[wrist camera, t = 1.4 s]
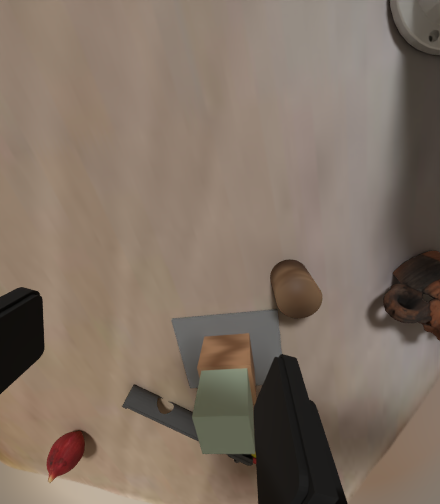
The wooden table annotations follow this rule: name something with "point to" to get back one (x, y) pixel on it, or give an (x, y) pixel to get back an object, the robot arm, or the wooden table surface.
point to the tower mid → (224, 412)
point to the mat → (255, 323)
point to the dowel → (295, 289)
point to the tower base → (228, 356)
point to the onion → (65, 454)
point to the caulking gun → (172, 418)
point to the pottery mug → (417, 292)
